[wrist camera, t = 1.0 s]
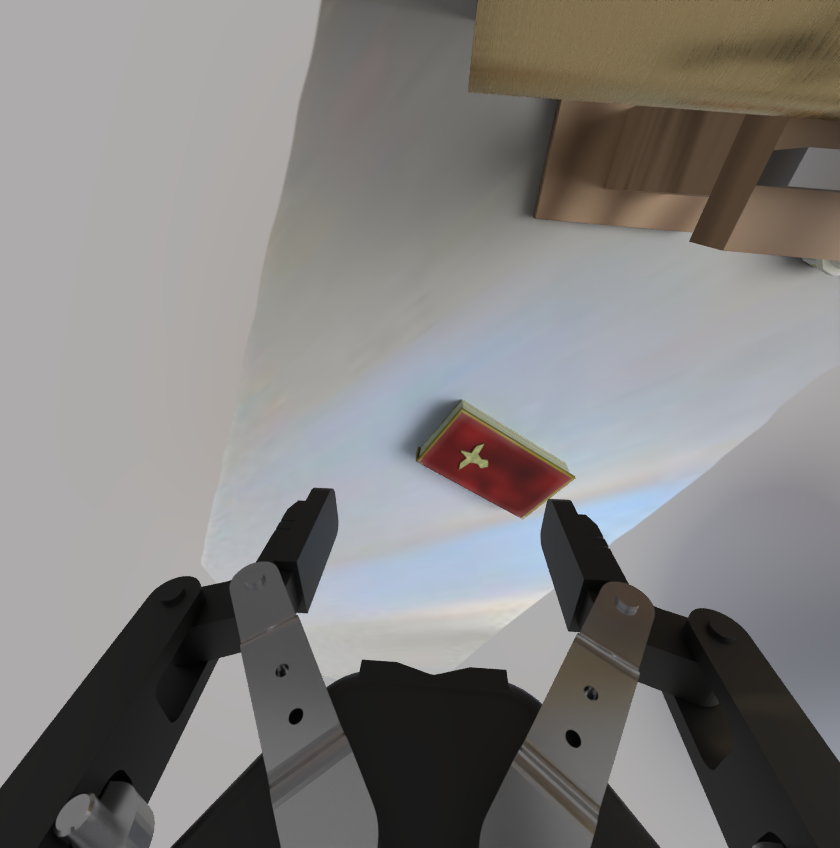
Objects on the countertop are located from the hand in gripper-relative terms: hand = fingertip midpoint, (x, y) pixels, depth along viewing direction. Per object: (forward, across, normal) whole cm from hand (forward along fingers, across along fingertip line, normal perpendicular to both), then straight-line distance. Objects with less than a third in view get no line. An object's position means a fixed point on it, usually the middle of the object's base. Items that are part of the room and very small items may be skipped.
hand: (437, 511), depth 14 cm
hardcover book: (+39, -9, +21) cm, 45 cm away
